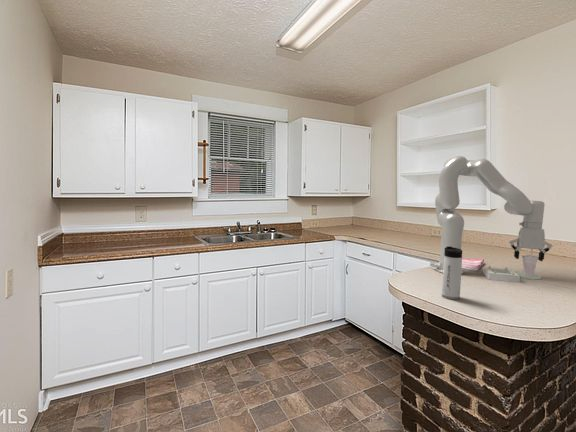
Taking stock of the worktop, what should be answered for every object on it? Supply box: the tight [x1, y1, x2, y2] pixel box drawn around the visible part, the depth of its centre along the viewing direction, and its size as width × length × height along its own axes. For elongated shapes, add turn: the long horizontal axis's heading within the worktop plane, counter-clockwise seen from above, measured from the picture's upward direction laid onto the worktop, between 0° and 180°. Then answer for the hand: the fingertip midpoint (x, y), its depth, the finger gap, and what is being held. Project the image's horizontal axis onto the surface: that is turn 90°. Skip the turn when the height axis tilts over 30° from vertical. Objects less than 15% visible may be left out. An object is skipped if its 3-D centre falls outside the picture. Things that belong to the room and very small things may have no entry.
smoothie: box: [521, 249, 539, 276], centre depth 149 cm, size 6×6×14 cm
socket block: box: [482, 266, 521, 283], centre depth 147 cm, size 12×12×4 cm
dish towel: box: [461, 257, 485, 272], centre depth 172 cm, size 17×23×4 cm
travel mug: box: [441, 246, 463, 301], centre depth 118 cm, size 6×7×20 cm
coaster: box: [516, 272, 543, 280], centre depth 149 cm, size 10×10×1 cm
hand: (528, 259), depth 149 cm, fingers open, 9 cm apart
